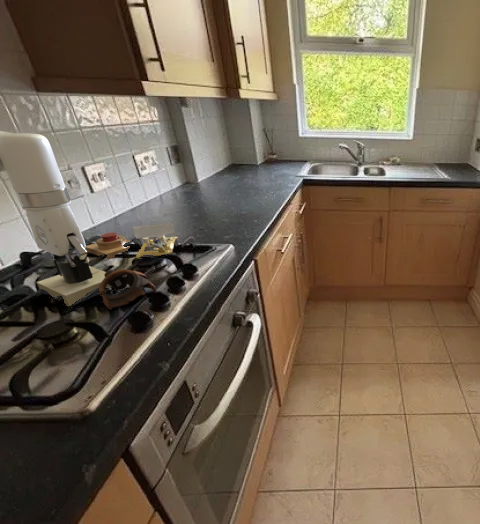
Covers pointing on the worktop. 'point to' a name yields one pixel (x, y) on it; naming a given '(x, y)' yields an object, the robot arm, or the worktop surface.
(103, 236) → the button
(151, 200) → the worktop surface
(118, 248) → the button block
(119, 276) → the pottery mug
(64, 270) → the dial
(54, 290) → the panel
